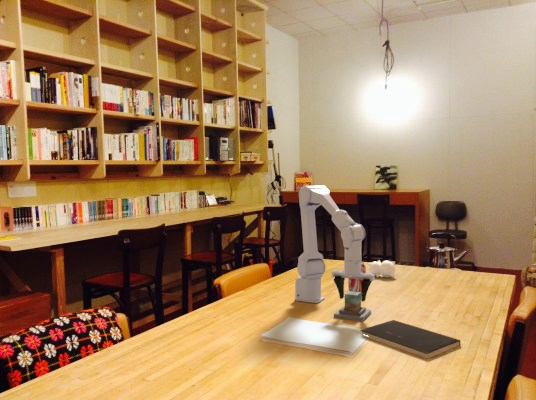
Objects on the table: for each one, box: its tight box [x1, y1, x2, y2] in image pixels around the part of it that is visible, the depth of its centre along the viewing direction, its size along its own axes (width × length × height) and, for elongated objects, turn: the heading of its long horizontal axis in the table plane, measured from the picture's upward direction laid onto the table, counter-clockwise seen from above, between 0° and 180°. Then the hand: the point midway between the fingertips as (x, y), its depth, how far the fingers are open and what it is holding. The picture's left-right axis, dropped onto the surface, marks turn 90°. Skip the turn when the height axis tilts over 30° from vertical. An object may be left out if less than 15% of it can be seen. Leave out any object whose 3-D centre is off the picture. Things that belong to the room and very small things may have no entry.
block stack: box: [344, 290, 362, 312], centre depth 163 cm, size 4×4×6 cm
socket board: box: [333, 305, 372, 322], centre depth 163 cm, size 10×10×2 cm
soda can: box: [347, 261, 367, 294], centre depth 195 cm, size 7×7×12 cm
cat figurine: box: [367, 259, 396, 278], centre depth 223 cm, size 9×11×12 cm
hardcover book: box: [360, 319, 461, 359], centre depth 139 cm, size 16×23×2 cm
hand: (352, 299), depth 163 cm, fingers open, 7 cm apart
